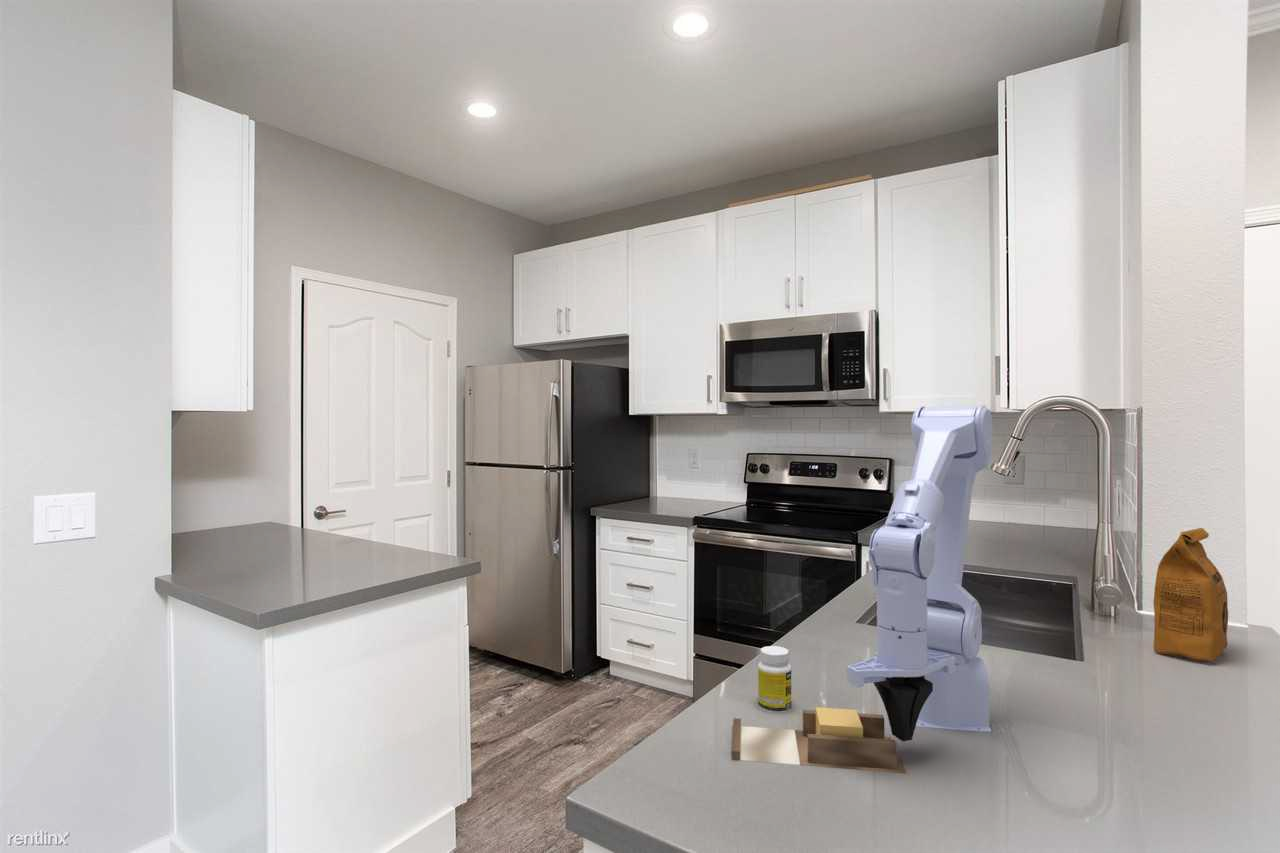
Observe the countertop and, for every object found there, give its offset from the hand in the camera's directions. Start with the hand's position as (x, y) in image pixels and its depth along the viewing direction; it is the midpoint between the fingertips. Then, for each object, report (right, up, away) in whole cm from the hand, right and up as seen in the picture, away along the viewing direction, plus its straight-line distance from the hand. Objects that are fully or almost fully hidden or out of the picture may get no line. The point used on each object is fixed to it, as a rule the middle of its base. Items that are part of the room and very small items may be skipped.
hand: (901, 737), depth 80 cm
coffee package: (+66, -3, +37) cm, 76 cm away
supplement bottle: (-13, -3, +14) cm, 19 cm away
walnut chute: (-10, -3, +2) cm, 11 cm away
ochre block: (-7, -2, +1) cm, 8 cm away
